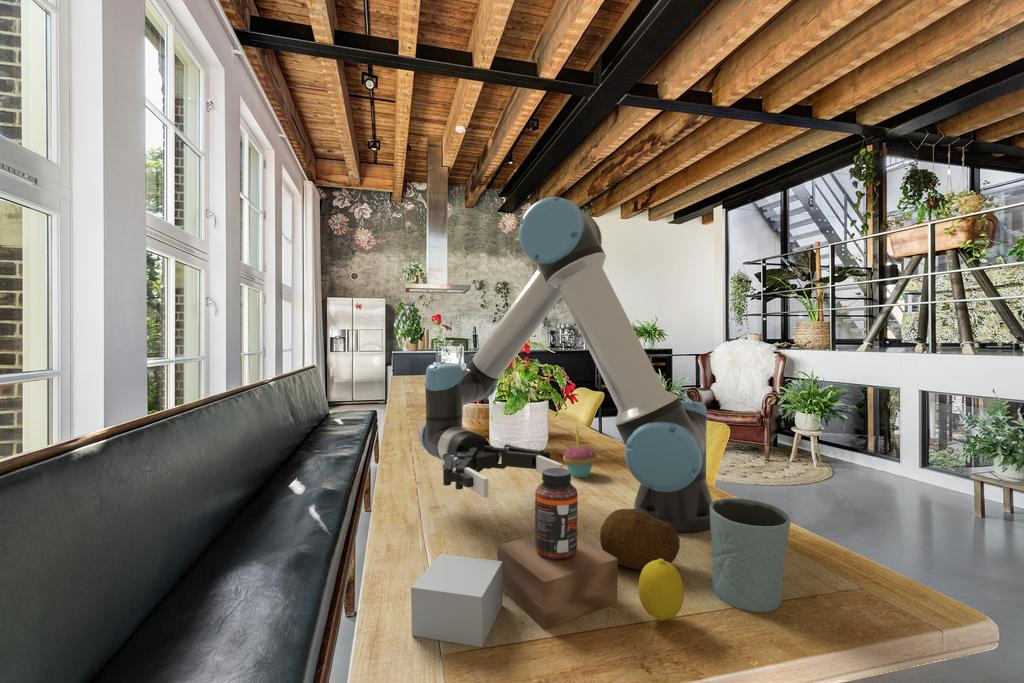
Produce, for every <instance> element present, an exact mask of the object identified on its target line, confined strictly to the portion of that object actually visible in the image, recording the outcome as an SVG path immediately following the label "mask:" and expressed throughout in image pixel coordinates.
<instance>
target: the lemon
mask: <svg viewBox="0 0 1024 683" xmlns="http://www.w3.org/2000/svg"><path fill="white" fill-rule="evenodd" d="M637 586H638V588H637V589H638V596H639V597H638V598H639V601H640V603H641V606H642V607H643V609H644V610H645V612H646V613H647V614H649V615H650V616H651V617H653V618H655V619H657V621H658V622H661V623H662V622H664V621H665V620H667V621H668V620H670V619H672V618H674V617H676V616H677V615H678V614H679V612H680V611H681V609H682V606H683V603H684V596H685V591H684V590H685V589H684V583H683V580H682V577H681V574H680V573H679V570H678V569H677V568H676V567H675V566H674V565H673V564H672V563H669V562H666V561H664V559H661V558H660V559H658V560H654V561H651V562H649V563H648V564H646V565H645V567H644V568H643V570H641V572H640V576H639V580H638V584H637Z"/></svg>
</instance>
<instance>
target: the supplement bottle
mask: <svg viewBox="0 0 1024 683" xmlns="http://www.w3.org/2000/svg"><path fill="white" fill-rule="evenodd" d="M541 475H542V476H541V481H542V483H540V484H539V485H538V486H537V487H536V488H535V494H534V497H535V498H534V505H535V506H534V536H535V549H536V551H537V552H538V553H539V554H540V555H542V556H544V557H547V558H551V559H565V558H569V557H571V556H572V555H574V554H575V553H576V551H577V535H578V508H579V507H578V498H579V497H578V496H579V494H578V490H577V488H576V487H575V486H574V485H573V484H572V482H571V481H572V476H571V472H570V471H569V469H565V468H563V469H562V468H548V469H545V470H543V471H542V474H541Z"/></svg>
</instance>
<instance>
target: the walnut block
mask: <svg viewBox="0 0 1024 683" xmlns="http://www.w3.org/2000/svg"><path fill="white" fill-rule="evenodd" d="M496 548H497V561H502V583H503V593H505V595H506V596H508V597H509V598H510V599H511V600H512V601H513V602H514V603H515V604H516V605H517V606H518V607H519V608H520V609H521V610H523V612H525V613H526V614H527V616H529V617H530V618H531V619H532V620H533V621H534V622H535V623H536V624H538V625H539V627H541V629H543V630H544V631H546V630H548V629H551V628H553V627H556V626H559V625H561V624H564V623H566V622H569V621H572V620H574V619H577V618H580V617H582V616H586V615H588V614H590V613H593V612H595V611H597V610H601V609H603V608H605V607H608V606H610V605H613V604H616V603H618V565H619V564H618V559H617V558H616V557H614V556H612V555H610V554H609V553H607V552H605V551H604V550H603V549H602V548H600V547H598V546H597V545H595V544H593V543H592V542H590V541H588V540H587V539H584V538H583V537H582V536H580V535H578V534H577V551H576V553H575V554H574V555H572V556H571V557H569V558H565V559H551V558H547V557H544V556H542V555H540V554H539V553H538V552H537V551H536V549H535V535H532V536H528V537H525V538H520V539H516V540H513V541H509V542H505V543H500V544H497V547H496Z"/></svg>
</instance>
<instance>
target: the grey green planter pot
mask: <svg viewBox="0 0 1024 683" xmlns="http://www.w3.org/2000/svg"><path fill="white" fill-rule="evenodd" d="M710 527H711V528H710V532H711V556H712V560H711V561H712V567H711V568H712V571H711V573H712V579H711V580H712V590H713V593H714V594H715V596H716V597H717V598H718V599H719V600H720V601H722V602H724V603H725V604H727V605H729V606H731V607H734V608H735V609H739V610H741V611H747V612H751V613H752V612H753V613H768V612H770V613H771V612H773V611H775V610H777V609H778V608H779V607H780V605H781V602H782V601H781V600H782V594H783V584H784V583H783V582H784V581H783V575H784V569H785V556H786V555H787V551H788V550H787V549H788V541H789V534H790V529H791V528H790V527H791V518H790V515H789V514H787V513H786V512H785V511H784V510H782V509H780V508H779V507H777V506H774V505H773V504H769V503H766V502H763V501H759V500H754V499H748V498H738V497H737V498H735V497H734V498H733V497H732V498H731V497H729V498H720V499H716V500H713V502H712V503H711V504H710Z"/></svg>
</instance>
